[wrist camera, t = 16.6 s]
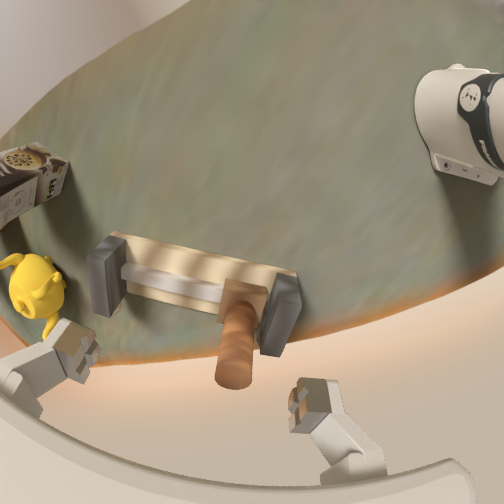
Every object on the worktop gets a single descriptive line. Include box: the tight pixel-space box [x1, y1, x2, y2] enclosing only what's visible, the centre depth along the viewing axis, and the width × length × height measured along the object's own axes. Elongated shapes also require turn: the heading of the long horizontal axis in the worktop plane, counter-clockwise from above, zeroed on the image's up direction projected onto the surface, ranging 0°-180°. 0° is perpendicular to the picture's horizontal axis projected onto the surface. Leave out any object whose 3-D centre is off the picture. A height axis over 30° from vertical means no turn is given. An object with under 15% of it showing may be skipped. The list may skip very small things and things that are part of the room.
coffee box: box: [0, 142, 69, 227], centre depth 27 cm, size 9×6×16 cm
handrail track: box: [86, 231, 302, 357], centre depth 39 cm, size 30×11×8 cm, turn 77°
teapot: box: [0, 253, 67, 341], centre depth 39 cm, size 20×15×12 cm
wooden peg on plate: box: [215, 278, 267, 390], centre depth 34 cm, size 6×6×16 cm
